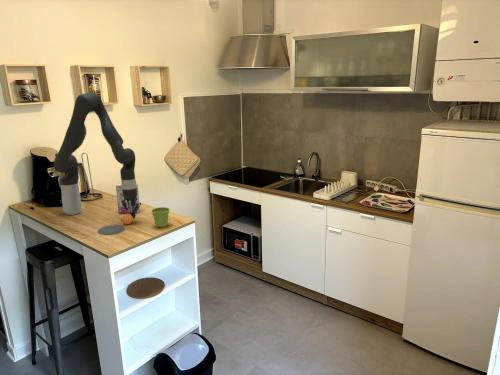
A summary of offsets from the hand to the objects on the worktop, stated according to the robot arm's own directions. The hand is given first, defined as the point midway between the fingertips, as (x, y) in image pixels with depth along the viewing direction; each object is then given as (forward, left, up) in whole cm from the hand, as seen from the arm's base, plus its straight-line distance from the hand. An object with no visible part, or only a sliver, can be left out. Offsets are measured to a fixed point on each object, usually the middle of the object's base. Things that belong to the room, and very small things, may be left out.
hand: (132, 218), depth 202 cm
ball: (0, -4, +1) cm, 4 cm away
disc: (-1, -14, -2) cm, 14 cm away
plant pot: (+17, +3, -2) cm, 18 cm away
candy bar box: (-14, +10, -2) cm, 17 cm away
